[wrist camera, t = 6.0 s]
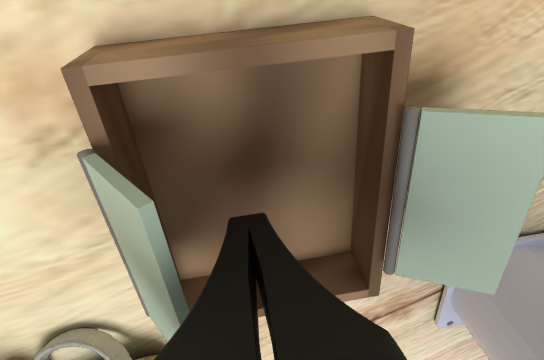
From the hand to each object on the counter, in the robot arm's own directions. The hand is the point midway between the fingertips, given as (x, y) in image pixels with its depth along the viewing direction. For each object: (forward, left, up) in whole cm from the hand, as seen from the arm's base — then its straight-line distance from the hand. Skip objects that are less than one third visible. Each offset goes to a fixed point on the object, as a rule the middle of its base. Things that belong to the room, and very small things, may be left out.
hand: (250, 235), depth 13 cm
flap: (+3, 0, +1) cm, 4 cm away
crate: (-1, 0, -5) cm, 5 cm away
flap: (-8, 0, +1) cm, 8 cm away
